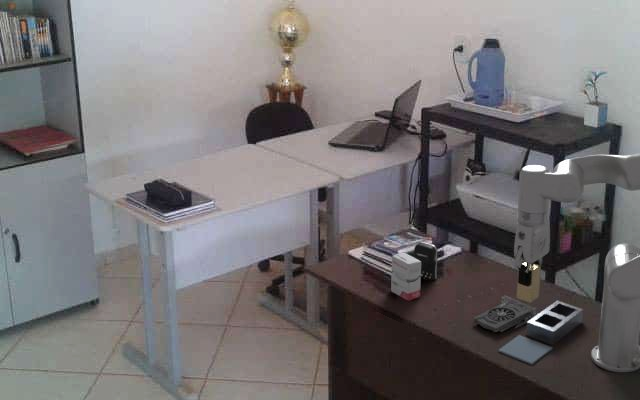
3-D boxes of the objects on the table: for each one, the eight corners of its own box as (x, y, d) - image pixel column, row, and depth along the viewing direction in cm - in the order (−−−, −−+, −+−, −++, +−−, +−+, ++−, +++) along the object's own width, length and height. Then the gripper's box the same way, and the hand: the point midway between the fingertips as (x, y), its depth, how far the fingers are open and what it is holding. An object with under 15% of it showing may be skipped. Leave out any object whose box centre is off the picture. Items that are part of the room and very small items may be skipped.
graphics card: (504, 293, 252) (537, 306, 243) (504, 304, 253) (537, 318, 244) (464, 312, 242) (497, 327, 233) (464, 324, 244) (497, 339, 235)
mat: (552, 349, 228) (552, 347, 228) (531, 364, 221) (532, 363, 221) (518, 336, 234) (519, 335, 234) (498, 351, 228) (498, 349, 228)
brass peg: (538, 297, 222) (540, 265, 219) (530, 302, 220) (532, 270, 216) (525, 292, 225) (526, 261, 222) (516, 297, 222) (518, 266, 219)
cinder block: (582, 322, 241) (583, 309, 239) (552, 344, 230) (553, 331, 228) (556, 313, 246) (557, 300, 244) (526, 334, 235) (526, 322, 234)
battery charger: (412, 277, 270) (412, 244, 266) (418, 273, 273) (419, 239, 269) (431, 283, 266) (431, 249, 262) (437, 278, 269) (438, 245, 264)
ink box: (421, 296, 258) (422, 260, 254) (408, 301, 255) (408, 265, 251) (403, 286, 265) (403, 250, 260) (390, 291, 262) (390, 255, 258)
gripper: (528, 229, 206) (524, 297, 213) (563, 208, 217) (558, 274, 224) (501, 221, 211) (498, 288, 217) (537, 201, 222) (533, 266, 229)
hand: (529, 280), depth 221 cm, fingers closed on brass peg, 4 cm apart
